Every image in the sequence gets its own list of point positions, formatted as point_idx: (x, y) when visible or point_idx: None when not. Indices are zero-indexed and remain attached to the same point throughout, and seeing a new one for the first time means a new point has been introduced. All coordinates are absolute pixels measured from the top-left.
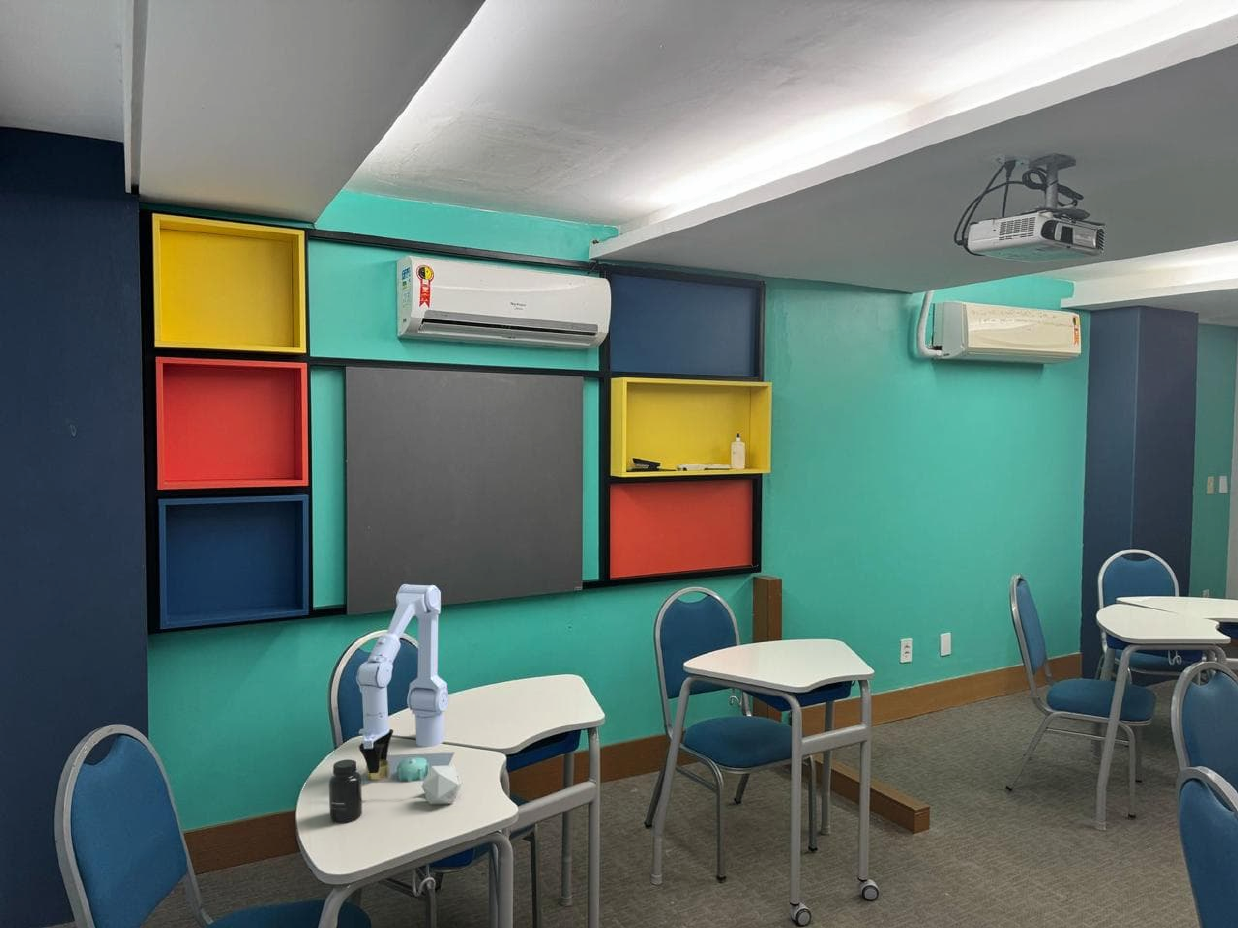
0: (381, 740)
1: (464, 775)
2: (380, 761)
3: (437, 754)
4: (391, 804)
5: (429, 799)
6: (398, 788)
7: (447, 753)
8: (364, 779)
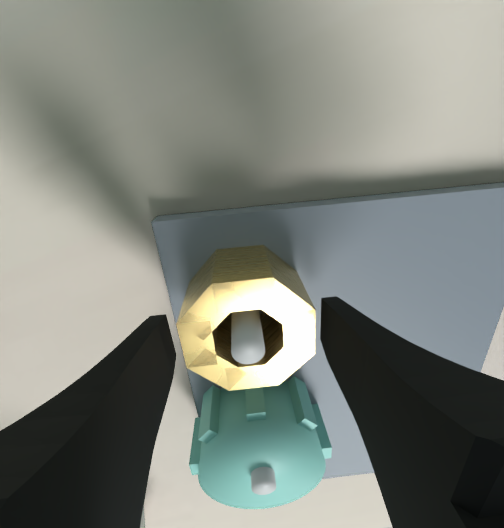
0: (394, 460)
1: None
2: (283, 341)
3: None
4: (34, 403)
5: None
6: (172, 381)
7: None
8: (205, 241)
